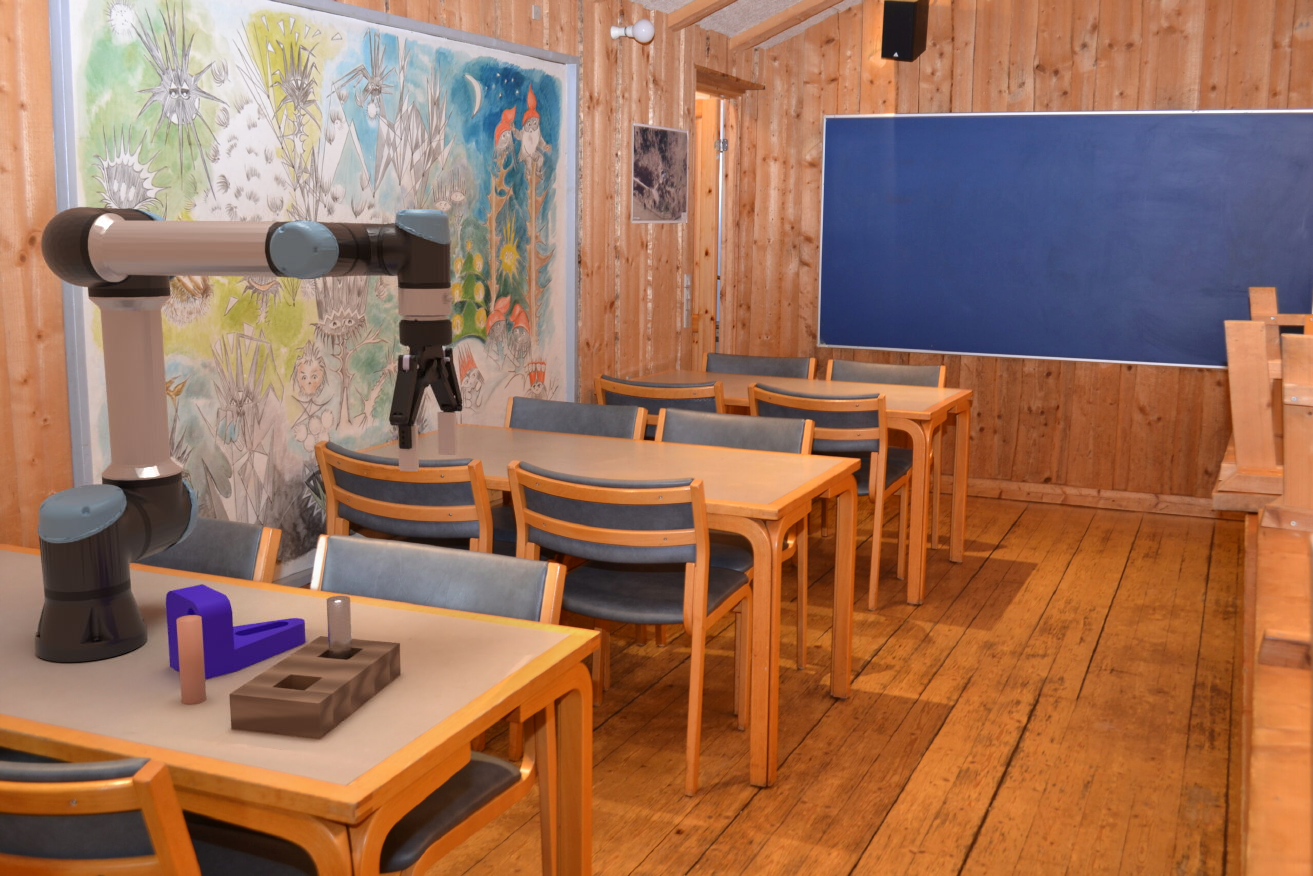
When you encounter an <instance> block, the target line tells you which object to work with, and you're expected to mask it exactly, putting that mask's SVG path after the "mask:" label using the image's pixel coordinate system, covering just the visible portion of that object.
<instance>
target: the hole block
mask: <svg viewBox="0 0 1313 876" xmlns="http://www.w3.org/2000/svg"><path fill="white" fill-rule="evenodd" d="M351 639H352V657H351V658H350V659H348V660H343V659H332V658H329V645H328V636H326V635H325V636H324V635H323V636H322V635H320V636H318V637H317V638H315V639H314V640H312V641H310V642H309V643H307V644H306V645H304V646H302V647H301V648H300V649H297V650H296V651H294V652H293V653H291V654H290V655H288V656H286V657H285V658H284V659H282V660H281V661H279V662H277V663H276V664H274V665H273V666H271V667H270V668H268V669H266V670H265V671H263V672H262V673H260V674H258V675H257V676H255V677H254V678H252V679H250V680H249V681H248V682H245V684H243V685H242V686H239V687H238V688H236V689H234V690H233V691H232V692H230V693H229V709H230V710H229V711H230V726H231V727H230V729H231V730H232V731H233V730H235V731H243V732H253V733H262V734H270V735H279V736H288V737H289V736H290V737H296V738H297V737H298V738H307V739H313V740H322V739H323V738H324V737H326V736H327V734H329V733H330V732H331V731H333V730H334V729H335V728H337V726H339V725H340V724H341V723H342V722H344V721H346V719H347V718H349V717H351V715H352V714H354V713H355V712H356V711H357V710H359V709H360V708H361V707H363V706H364V704H366V703H367V702H369V701H370V700H371V699H372V698H373V697H374V696H376V695H377V694H378V693H380V692H381V691H382V690H383V689H385V688H386V687H387V686H389V685H390V684H391V683H392V682H393V681H395V680H396V679H397V678H399V676H401V648H400V647H401V646H400V645H401V644H400V642H391V641H390V642H389V641H381V640H371V639H370V640H367V639H356V638H351Z"/></svg>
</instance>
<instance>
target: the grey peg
mask: <svg viewBox="0 0 1313 876" xmlns="http://www.w3.org/2000/svg"><path fill="white" fill-rule="evenodd" d="M351 614H352V613H351V598H350V596H348V595H333V596H330V597H327V599H326V616H327V635H328V636H327V637H328V645H329V658H332V659H343V660H348V659H350V658H351V657H352V639H353V638H352V621H351V620H352V619H351V618H352V616H351Z"/></svg>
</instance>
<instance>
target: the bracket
mask: <svg viewBox="0 0 1313 876" xmlns="http://www.w3.org/2000/svg"><path fill="white" fill-rule="evenodd" d="M230 601H231V600H229V597H228V596H227V595H226V594H224V593H222V592H220V591H218V590H215V589H214V588H211V587H210V586H207V585H205V584H196V585H193V586H192V585H191V586H187V587H183V588H178V589H173V590H169V591H167V593H166V597H165V612H166V625H167V627H166V628H167V640H168V643H167V644H168V656H169V657H168V658H169V667H170V669H173V670H175V671H176V672H178V673H179V674H180V668H179V652H178V636H177V619H178V618H180V617H183V616H188V615H198V616H201V617H202V634H203V651H204V667H205V681H207V680H210V679H213V678H217V677H221V676H225V675H229V674H232V673H235V672H239V671H241V670H243V669H246V668H248V667H251V666H253V665H255V664H258V663H261V662H263V661H266V660H267V659H270V658H273V657H275V656H277V655H280V654H282V653H285V652H287V651H290V650H292V649H294V648H297V647H300V646H302V645H304V644H305V643H306V623H305V622H306V621H305V619H303V618H299V617H289V618H284V619H276V620H275V619H274V620H269V621H262V622H255V623H247V624H241V625H234V621H233V620H234V619H233V608H232V605H231V602H230Z"/></svg>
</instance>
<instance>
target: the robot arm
mask: <svg viewBox="0 0 1313 876" xmlns="http://www.w3.org/2000/svg"><path fill="white" fill-rule="evenodd" d="M449 223H450V220H449V216H448V214H447V213H446V212H445V211H444V210H441V209H428V208H427V209H424V208H423V209H422V208H420V209H419V208H418V209H417V208H411V209H402V208H401V209H398V210H397V211H396V213H395V219H394V222H391V223H367V222H363V223H362V222H361V223H359V222H333V221H332V222H329V221H328V222H327V221H326V222H325V221H314V220H304V219H302V220H301V219H299V220H298V219H297V220H294V221H293V220H292V221H287V220H285V221H271V220H268V221H267V220H264V221H261V220H259V221H258V220H252V221H251V220H247V221H246V220H166V218H164V217H162V216H161V215H159V214H157V213H155V212H151V211H148V210H142V209H139V208H131V207H129V208H127V207H126V208H118V207H117V208H114V207H113V208H111V207H91V206H78V207H70V208H68V209H65V210H63V211H60V212H59V213H58V214H55V215H54V216H53V217H52V218H51V219H50V220H49V221H48V223H47V224H46V226H45V227H44V229H43V232H42V234H41V242H40V247H41V248H40V249H41V254H42V256H43V261H44V262H45V264H46V265H47V267H48V269H49V270H50V271H51V272H52V273H53V274H54V275H55V276H56V277H58V278H59V279H60V280H62V281H64V282H66V283H68V284H70V285H73V286H77V287H82V288H87V295H88V297H87V298H88V299H89V300H90V302H92V303H93V304H94V305H96V306H97V307H98V309H99V310H100V323H101V333H102V334H101V336H102V349H103V365H104V378H105V390H106V391H105V392H106V406H107V407H106V408H107V417H108V418H107V419H108V430H109V433H108V434H109V444H110V445H109V446H110V447H109V448H110V458H111V459H110V460H111V462H110V464H109V465H108V466H107V467H106V468H105V469H104V470H103V471H102V472H101V483H98V484H97V483H96V484H95V483H94V484H87V485H86V484H85V485H82V486H78V487H69V488H67V489H63V490H61V491H58V492H55V493H54V494H51V495H49V496H48V497H46V498H45V499H44V500H43V501H42V502H41V504H40V506H39V508H38V524H37V534H38V538H39V539H38V540H39V550H40V561H41V563H40V564H41V570H42V571H41V572H42V581H43V592H44V602H43V606H42V610H41V613H40V618H39V622H38V625H37V631H36V633H35V636H34V650H35V654H36V656H37V657H39V658H41V659H43V660H47V661H51V662H61V663H79V662H91V661H96V660H103V659H108V658H112V657H117V656H120V655H123V654H127V653H128V652H132V651H134V650H136V649H138V648H140V647H142V646H143V645H144V644H145V643H146V642H147V640H148V631H147V630H148V629H147V623H146V621H145V619H144V618H143V617H142V613H141V610H140V608H139V605H138V604H137V603H138V602H137V600H136V598H135V597H134V594H133V590H132V582H131V568H130V567H131V566H130V564H132V563H134V562H138V561H139V560H142V559H146V558H147V557H151V556H152V555H156V554H160V553H163V552H166V551H169V550H171V549H172V548H174V547H175V546H176V545H178V544H180V543H182V542H183V541H185V540H186V539H187V538H188V537H189V536H190V534H192V533H193V531H194V529H195V527H196V524H197V522H198V518H199V509H200V508H199V507H200V506H199V505H200V504H199V500H198V496H197V494H196V492H195V490H194V489H193V488H191V487H190V485H191V484H190V483H189V482H188V481H186V479H184V478H183V471H182V467H181V466H179V464H177V463H176V462H175V461H173V459H172V458H171V450H170V449H171V447H170V446H171V444H170V431H169V429H170V428H169V414H168V413H169V412H168V401H167V400H168V399H167V382H166V369H165V368H166V367H165V365H166V364H165V352H164V351H165V350H164V335H163V334H164V333H163V319H162V308H163V306H164V305H165V304H166V303H167V302H168V301H169V300H170V299H171V297H172V296H171V295H172V294H171V282H172V281H173V280H174V279H175V278H177V276H178V277H179V276H180V277H181V276H182V277H184V276H185V277H188V276H189V277H244V278H245V277H248V278H249V277H250V278H254V277H256V278H257V277H264V278H293V279H297V280H298V279H299V280H316V279H320V278H321V279H322V278H331V277H332V278H338V277H339V278H340V277H342V278H343V277H363V276H364V277H365V276H366V277H371V276H373V277H374V276H375V277H376V276H377V277H378V276H380V277H381V276H383V277H384V276H388V277H397V287H398V288H397V299H398V301H397V303H398V304H397V306H398V307H397V309H398V315H399V316H401V317H402V319H400V320H399V322H398V332H399V333H398V335H399V336H398V337H399V343H400V345H402V346H405V347H408V348H409V351H408V354H399V355H398V357H397V374H396V378H395V385H394V389H393V395H392V400H391V406H390V411H389V415H388V416H389V417H388V421H389V424H390V425H391V426H397V441H398V442H397V443H398V444H397V445H398V448H397V449H398V470H399V471H400V472H411V473H412V472H414V473H415V472H416V473H417V472H419V471H420V466H419V465H420V462H419V461H420V459H419V457H420V456H419V455H420V454H419V426H418V425H415V422H416V420H417V417H418V412H419V411H420V406H421V403H422V399H423V397H424V393H425V390H426V388H428V387H430V388H431V391H432V392H433V396H434V397H435V399H436V401H437V402H436V403H437V404H438V407H439V409H440V411H438V412H437V444H438V446H437V450H438V452H437V453H438V455H446V456H457V455H458V447H457V445H458V444H457V442H458V441H457V440H458V439H457V412H462V411H463V409H464V408H463V398H462V397H463V396H462V393H461V389H460V385H459V381H458V380H459V379H458V377H457V372H456V371H457V370H456V367H455V363H454V353H453V352H454V351H453V348H452V347H447V346H450V345H451V344H452V342H453V321H451V319H450V318H449V319H448V316H450V315H452V302H453V301H454V300H455V299H454V296H453V295H452V290H451V289H452V288H451V287H452V286H451V285H452V283H451V244H452V240H451V235H450V224H449Z"/></svg>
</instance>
